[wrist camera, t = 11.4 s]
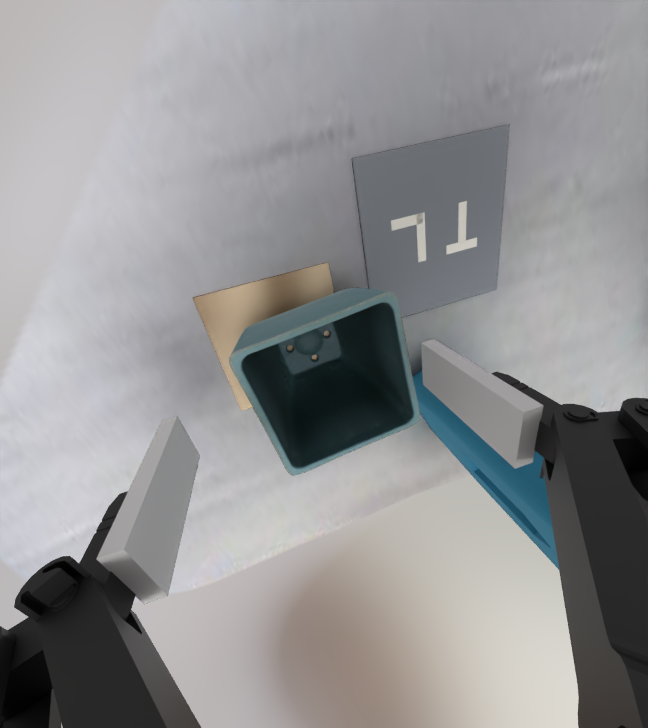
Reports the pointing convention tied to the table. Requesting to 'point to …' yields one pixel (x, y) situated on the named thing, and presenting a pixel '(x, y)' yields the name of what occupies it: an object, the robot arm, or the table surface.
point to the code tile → (433, 217)
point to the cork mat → (257, 310)
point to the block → (494, 471)
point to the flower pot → (328, 376)
